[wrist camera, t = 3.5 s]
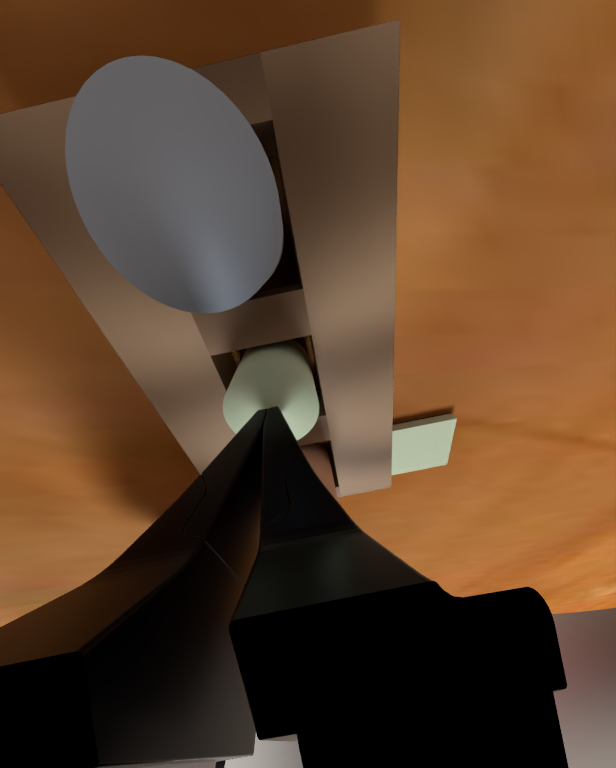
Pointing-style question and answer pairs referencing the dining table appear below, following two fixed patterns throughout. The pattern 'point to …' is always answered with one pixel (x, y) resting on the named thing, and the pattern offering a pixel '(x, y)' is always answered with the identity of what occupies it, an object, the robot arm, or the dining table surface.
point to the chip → (422, 443)
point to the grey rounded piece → (173, 184)
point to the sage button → (273, 387)
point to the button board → (309, 237)
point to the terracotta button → (320, 465)
